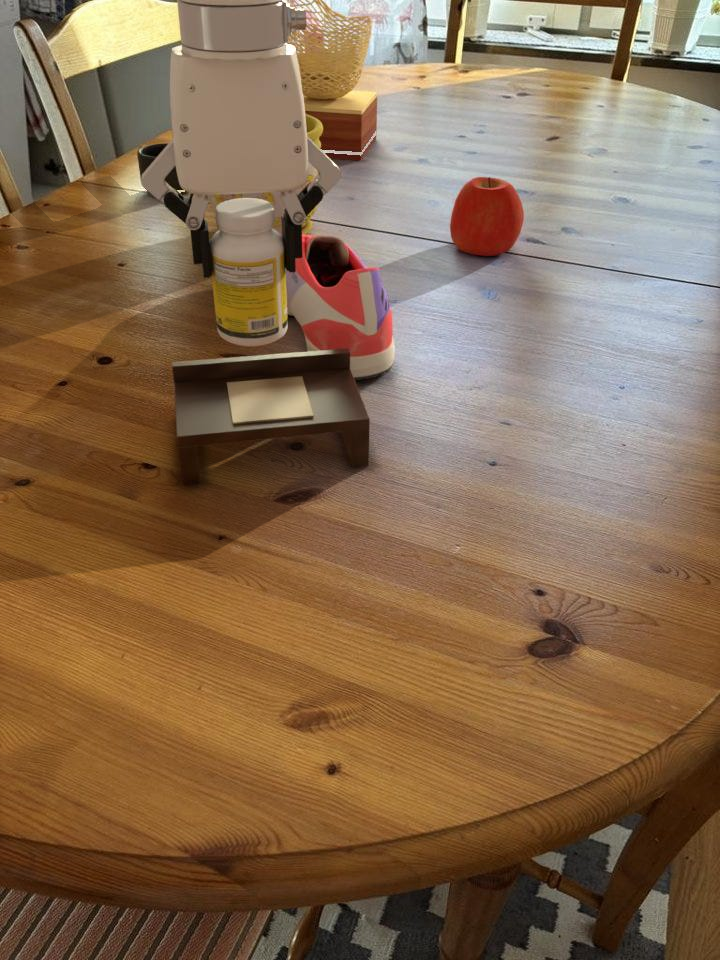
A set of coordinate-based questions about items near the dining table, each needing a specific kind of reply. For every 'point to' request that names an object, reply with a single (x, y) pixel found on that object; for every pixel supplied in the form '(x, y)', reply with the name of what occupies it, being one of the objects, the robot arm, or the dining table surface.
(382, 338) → the coral sneaker
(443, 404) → the dining table surface
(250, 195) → the flowerpot
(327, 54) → the beige netted upright structure
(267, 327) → the pill bottle
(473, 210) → the apple
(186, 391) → the shelf
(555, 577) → the dining table surface
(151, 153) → the mug
